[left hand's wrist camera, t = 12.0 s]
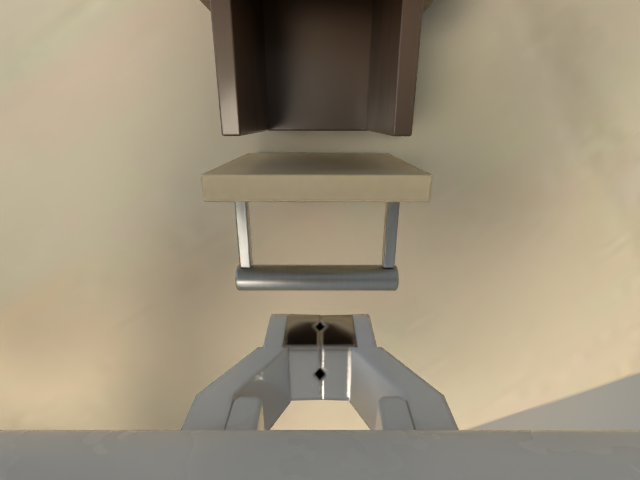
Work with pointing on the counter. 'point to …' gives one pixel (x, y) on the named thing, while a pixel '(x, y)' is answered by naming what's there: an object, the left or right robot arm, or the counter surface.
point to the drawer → (316, 119)
